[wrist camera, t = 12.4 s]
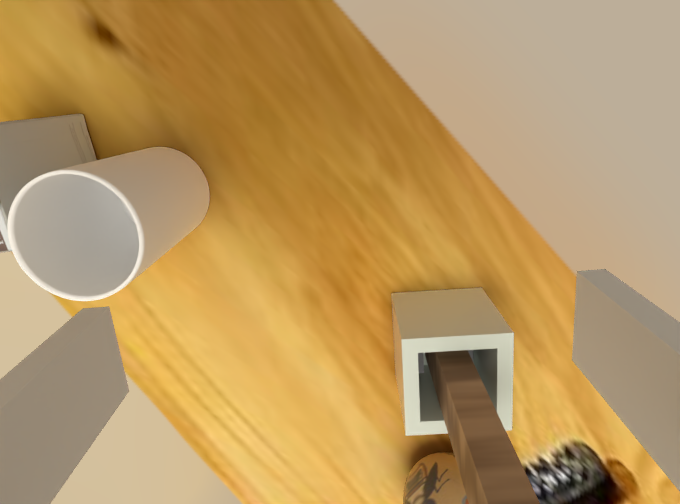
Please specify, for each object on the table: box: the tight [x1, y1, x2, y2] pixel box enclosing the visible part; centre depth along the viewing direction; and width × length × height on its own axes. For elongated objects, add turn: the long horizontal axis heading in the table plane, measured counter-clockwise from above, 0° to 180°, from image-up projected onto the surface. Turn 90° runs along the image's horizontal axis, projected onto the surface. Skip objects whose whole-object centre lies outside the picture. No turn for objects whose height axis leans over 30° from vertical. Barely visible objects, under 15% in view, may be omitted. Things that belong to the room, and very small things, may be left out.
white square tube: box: [391, 287, 514, 436], centre depth 46 cm, size 8×8×10 cm
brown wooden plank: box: [425, 350, 540, 504], centre depth 38 cm, size 4×2×24 cm, turn 4°
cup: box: [7, 147, 210, 301], centre depth 40 cm, size 8×8×16 cm
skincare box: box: [0, 114, 97, 253], centre depth 40 cm, size 8×6×15 cm
